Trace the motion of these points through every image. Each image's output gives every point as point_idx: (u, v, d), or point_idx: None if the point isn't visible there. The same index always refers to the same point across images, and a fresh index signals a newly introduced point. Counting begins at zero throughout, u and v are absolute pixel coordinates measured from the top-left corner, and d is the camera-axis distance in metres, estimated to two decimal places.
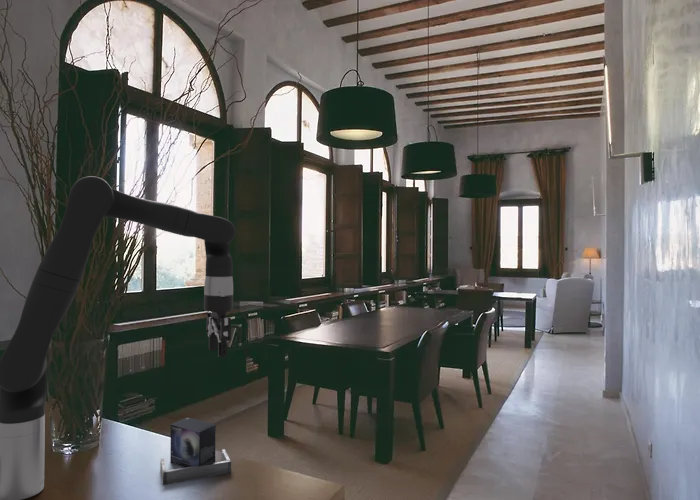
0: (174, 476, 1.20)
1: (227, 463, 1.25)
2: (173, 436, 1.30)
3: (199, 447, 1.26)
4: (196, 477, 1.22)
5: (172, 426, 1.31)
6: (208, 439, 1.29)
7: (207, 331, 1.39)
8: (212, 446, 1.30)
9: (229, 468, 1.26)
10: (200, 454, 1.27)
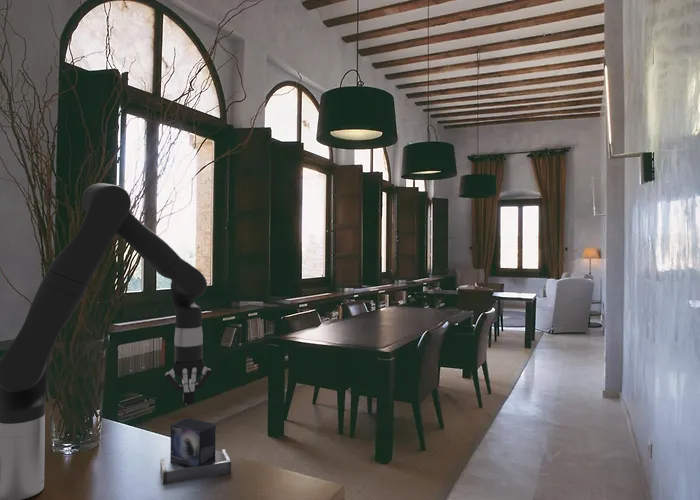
0: (174, 476, 1.20)
1: (227, 463, 1.25)
2: (173, 436, 1.30)
3: (199, 447, 1.26)
4: (196, 477, 1.22)
5: (172, 426, 1.31)
6: (208, 439, 1.29)
7: (180, 386, 1.39)
8: (212, 446, 1.30)
9: (229, 468, 1.26)
10: (200, 454, 1.27)
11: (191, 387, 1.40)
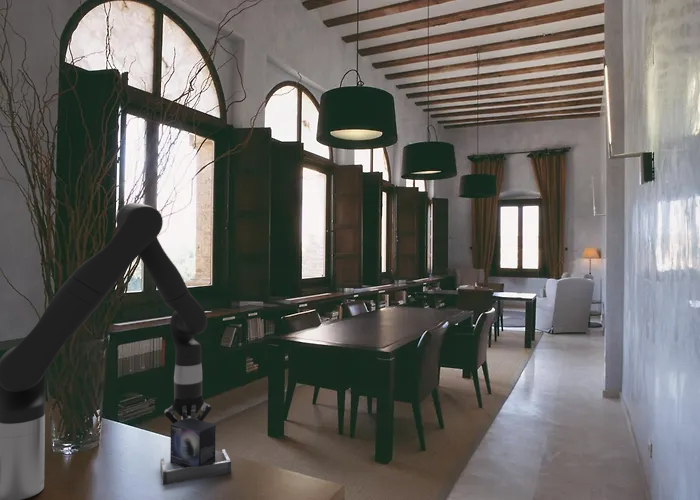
0: (174, 476, 1.20)
1: (227, 463, 1.25)
2: (173, 436, 1.30)
3: (199, 447, 1.26)
4: (196, 477, 1.22)
5: (172, 426, 1.31)
6: (208, 439, 1.29)
7: None
8: (212, 446, 1.30)
9: (229, 468, 1.26)
10: (200, 454, 1.27)
11: None
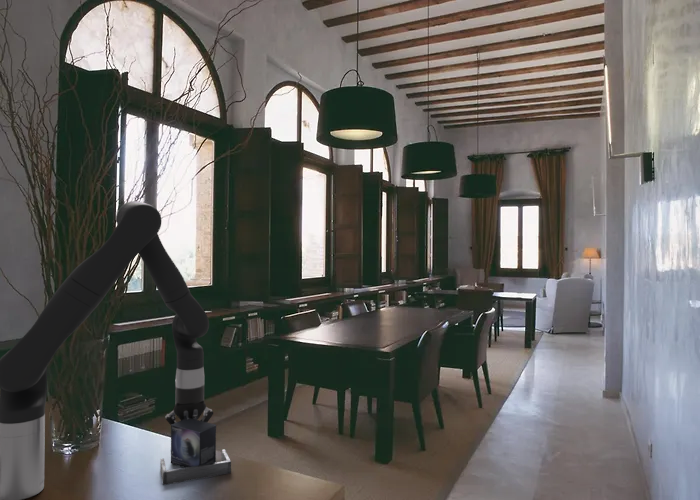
0: (174, 476, 1.20)
1: (227, 463, 1.25)
2: (173, 436, 1.30)
3: (199, 448, 1.26)
4: (196, 477, 1.22)
5: (172, 426, 1.30)
6: (208, 440, 1.28)
7: None
8: (212, 446, 1.30)
9: (229, 468, 1.26)
10: (200, 455, 1.26)
11: None
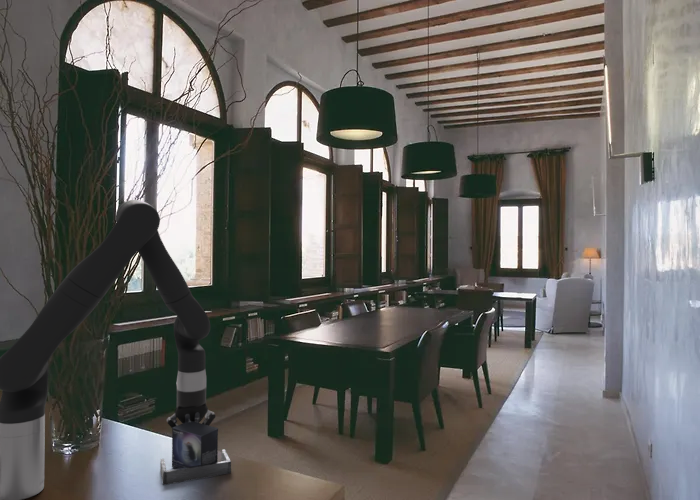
0: (174, 476, 1.20)
1: (227, 463, 1.25)
2: (175, 440, 1.28)
3: (201, 452, 1.23)
4: (196, 477, 1.22)
5: (174, 429, 1.28)
6: (210, 443, 1.26)
7: None
8: (214, 450, 1.28)
9: (229, 468, 1.26)
10: (202, 459, 1.24)
11: None
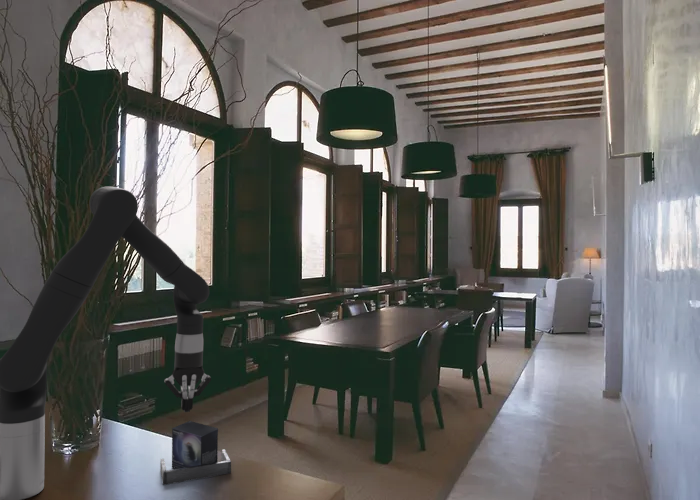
0: (174, 476, 1.20)
1: (227, 463, 1.25)
2: (175, 440, 1.28)
3: (201, 452, 1.23)
4: (196, 477, 1.22)
5: (174, 430, 1.28)
6: (210, 444, 1.26)
7: (179, 393, 1.38)
8: (214, 451, 1.28)
9: (229, 468, 1.26)
10: (201, 459, 1.24)
11: (190, 394, 1.39)
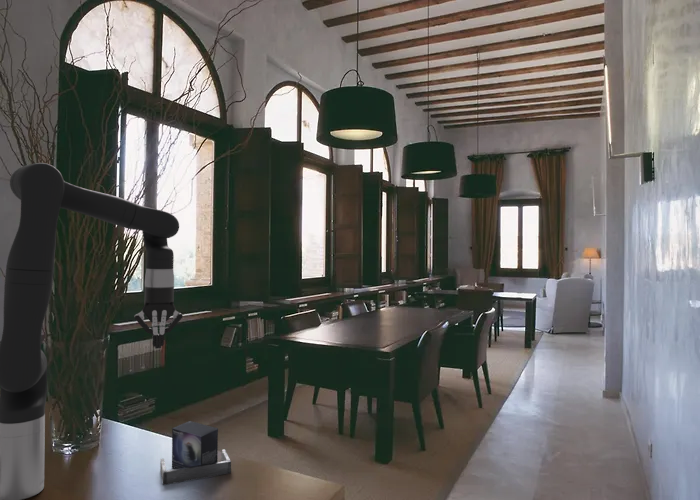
0: (174, 476, 1.20)
1: (227, 463, 1.25)
2: (175, 440, 1.28)
3: (201, 452, 1.24)
4: (196, 477, 1.22)
5: (174, 430, 1.28)
6: (210, 444, 1.26)
7: (150, 329, 1.36)
8: (214, 451, 1.28)
9: (229, 468, 1.26)
10: (201, 459, 1.24)
11: (161, 330, 1.37)
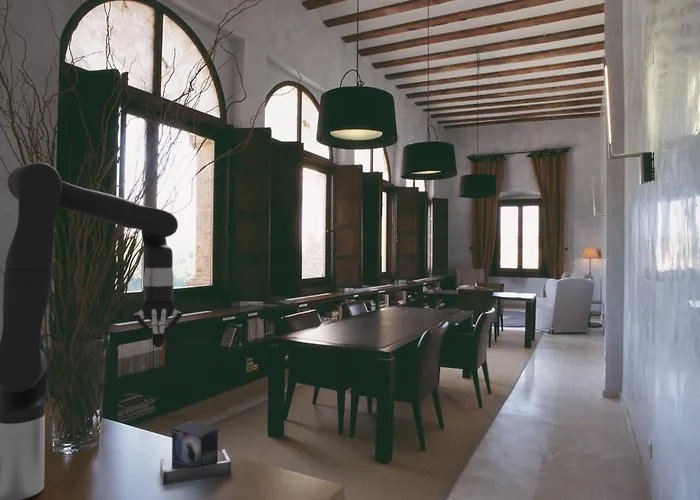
0: (174, 476, 1.20)
1: (227, 463, 1.25)
2: (175, 440, 1.28)
3: (201, 452, 1.24)
4: (196, 477, 1.22)
5: (174, 430, 1.28)
6: (210, 444, 1.26)
7: (149, 328, 1.36)
8: (214, 451, 1.28)
9: (229, 468, 1.26)
10: (201, 459, 1.24)
11: (160, 329, 1.37)
